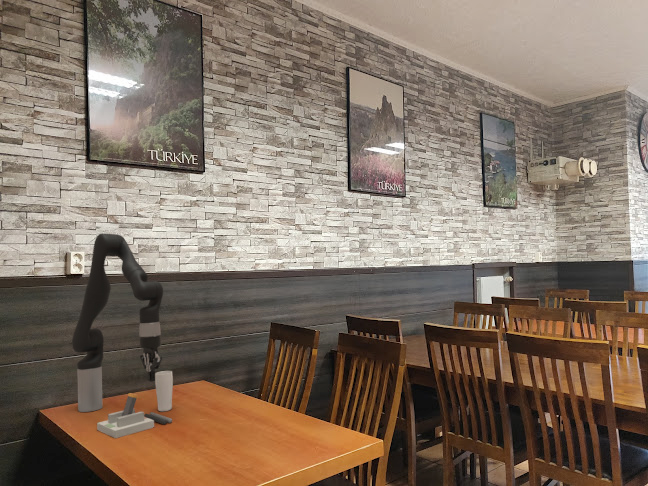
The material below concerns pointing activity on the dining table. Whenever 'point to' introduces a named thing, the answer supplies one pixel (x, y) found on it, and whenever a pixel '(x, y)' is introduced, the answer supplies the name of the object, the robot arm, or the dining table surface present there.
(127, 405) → the lever
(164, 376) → the drinking glass
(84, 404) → the robot arm
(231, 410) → the dining table surface
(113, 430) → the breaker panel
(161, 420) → the cable bundle
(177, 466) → the dining table surface
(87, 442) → the dining table surface
